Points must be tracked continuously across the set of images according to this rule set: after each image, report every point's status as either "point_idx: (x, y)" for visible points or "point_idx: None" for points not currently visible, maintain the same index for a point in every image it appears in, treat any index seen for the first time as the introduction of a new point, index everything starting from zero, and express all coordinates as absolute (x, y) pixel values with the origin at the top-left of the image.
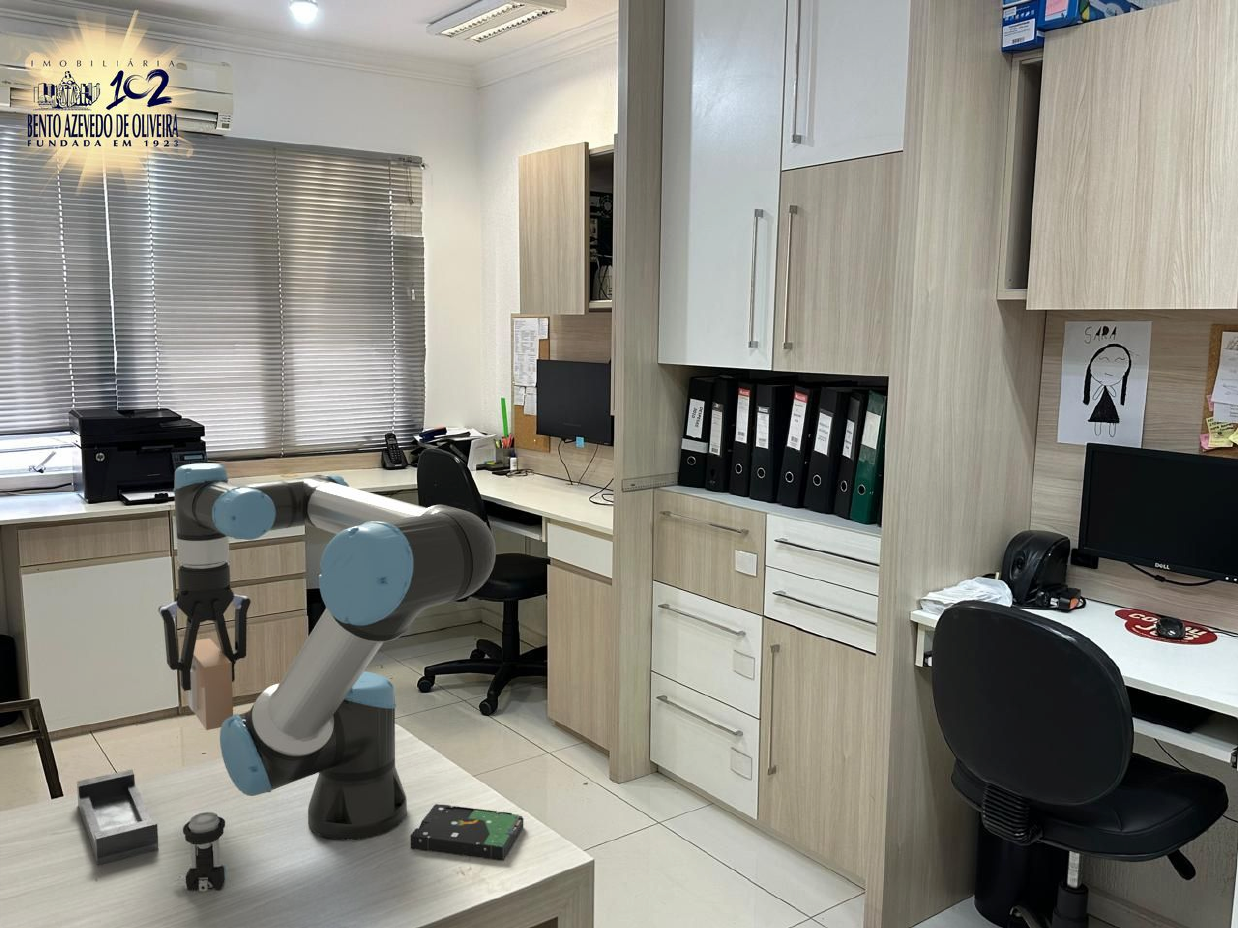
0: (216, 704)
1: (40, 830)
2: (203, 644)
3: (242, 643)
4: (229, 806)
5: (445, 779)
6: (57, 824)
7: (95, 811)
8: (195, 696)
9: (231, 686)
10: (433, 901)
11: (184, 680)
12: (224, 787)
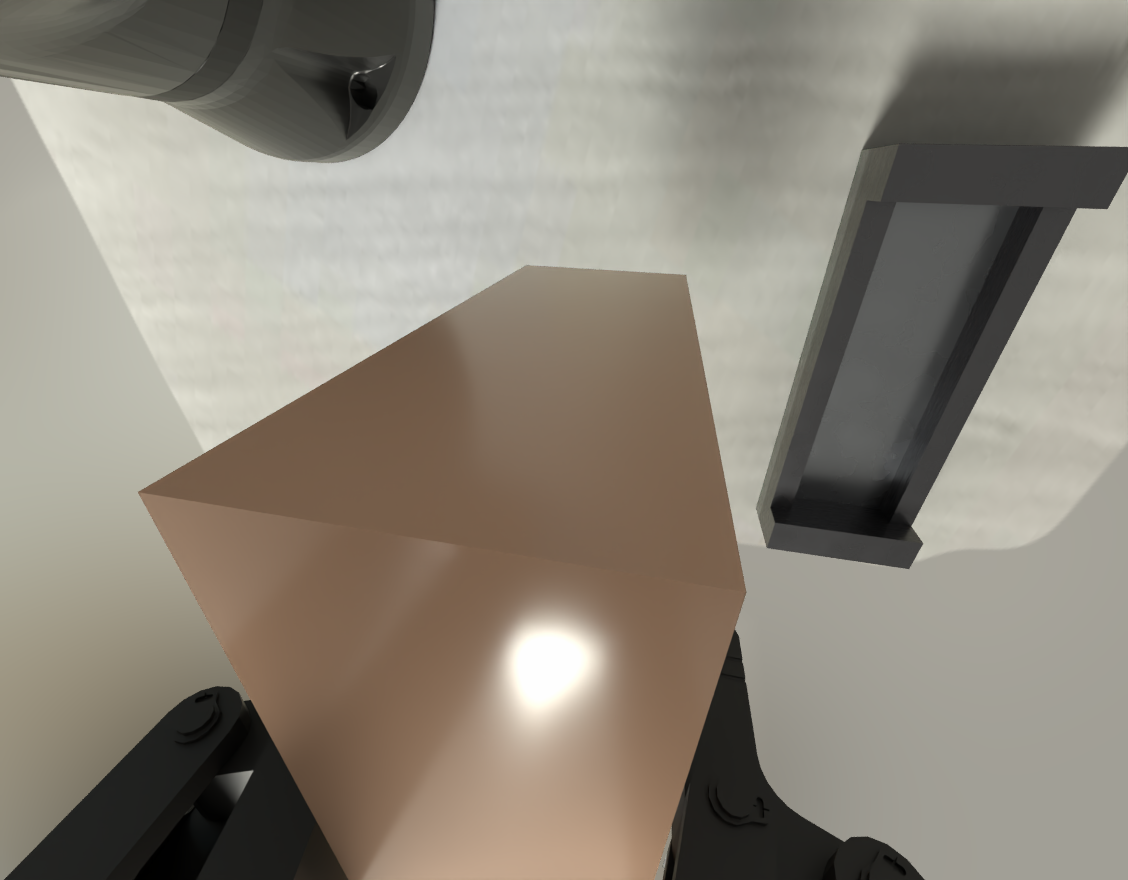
0: (600, 308)
1: (1024, 463)
2: None
3: (62, 869)
4: None
5: (57, 92)
6: (974, 468)
7: (893, 455)
8: None
9: (416, 332)
10: None
11: (732, 686)
12: None
